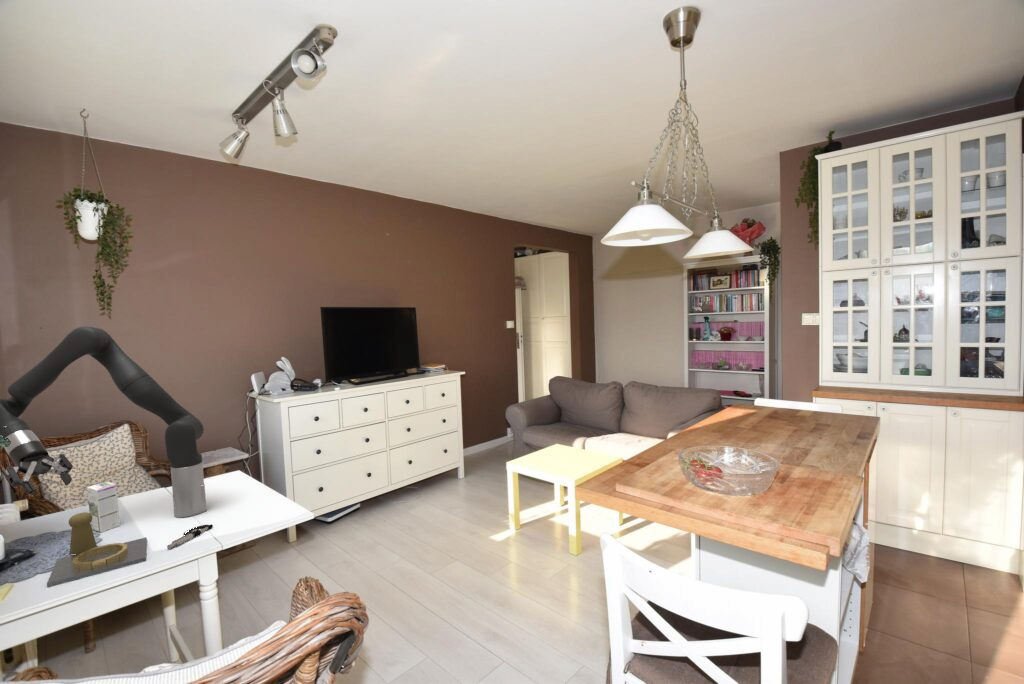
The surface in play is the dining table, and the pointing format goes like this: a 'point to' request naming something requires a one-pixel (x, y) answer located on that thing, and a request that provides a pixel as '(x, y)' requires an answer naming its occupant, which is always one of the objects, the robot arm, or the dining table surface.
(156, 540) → the dining table surface
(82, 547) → the cork
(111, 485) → the syrup box
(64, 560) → the collar plate
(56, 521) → the dining table surface
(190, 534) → the micrometer
